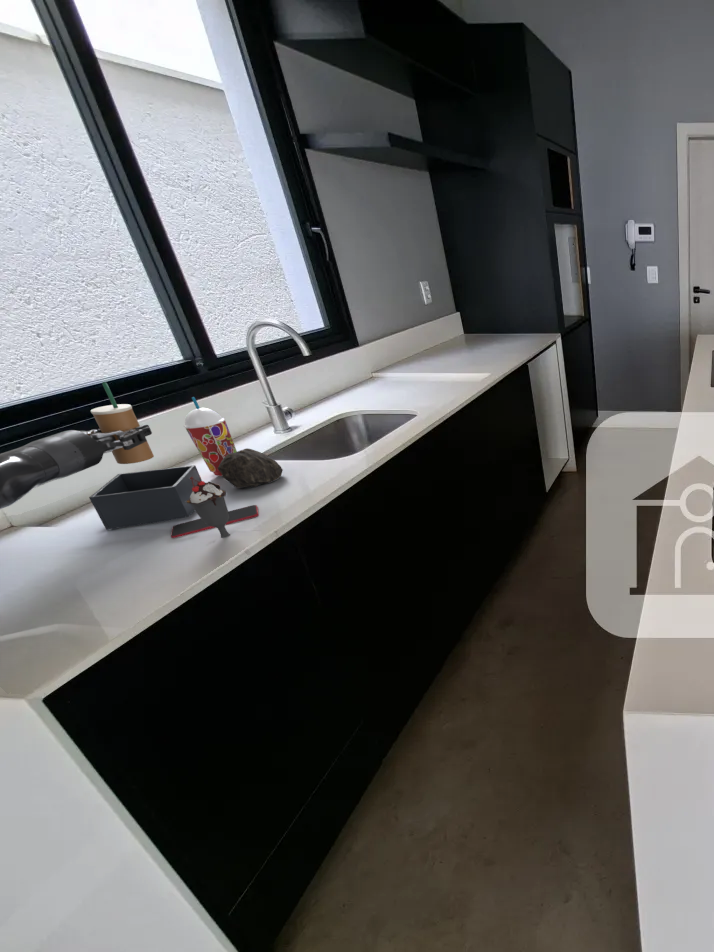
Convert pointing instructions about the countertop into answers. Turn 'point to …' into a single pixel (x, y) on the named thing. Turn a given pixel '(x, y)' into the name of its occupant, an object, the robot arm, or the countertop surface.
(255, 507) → the smartphone
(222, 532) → the sundae
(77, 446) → the robot arm
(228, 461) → the rock
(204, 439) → the smoothie
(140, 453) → the takeaway cup
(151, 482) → the bin
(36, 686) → the countertop surface
